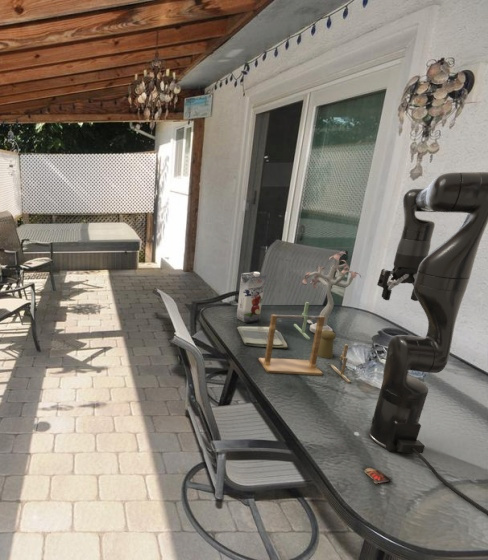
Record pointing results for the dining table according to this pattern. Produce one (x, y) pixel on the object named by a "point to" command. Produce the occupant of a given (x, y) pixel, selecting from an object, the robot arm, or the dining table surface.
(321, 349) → the cork
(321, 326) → the rack
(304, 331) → the hanger
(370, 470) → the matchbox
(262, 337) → the pale green square plate
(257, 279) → the juice carton
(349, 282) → the decorative tree
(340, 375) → the hanger
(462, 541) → the dining table surface
